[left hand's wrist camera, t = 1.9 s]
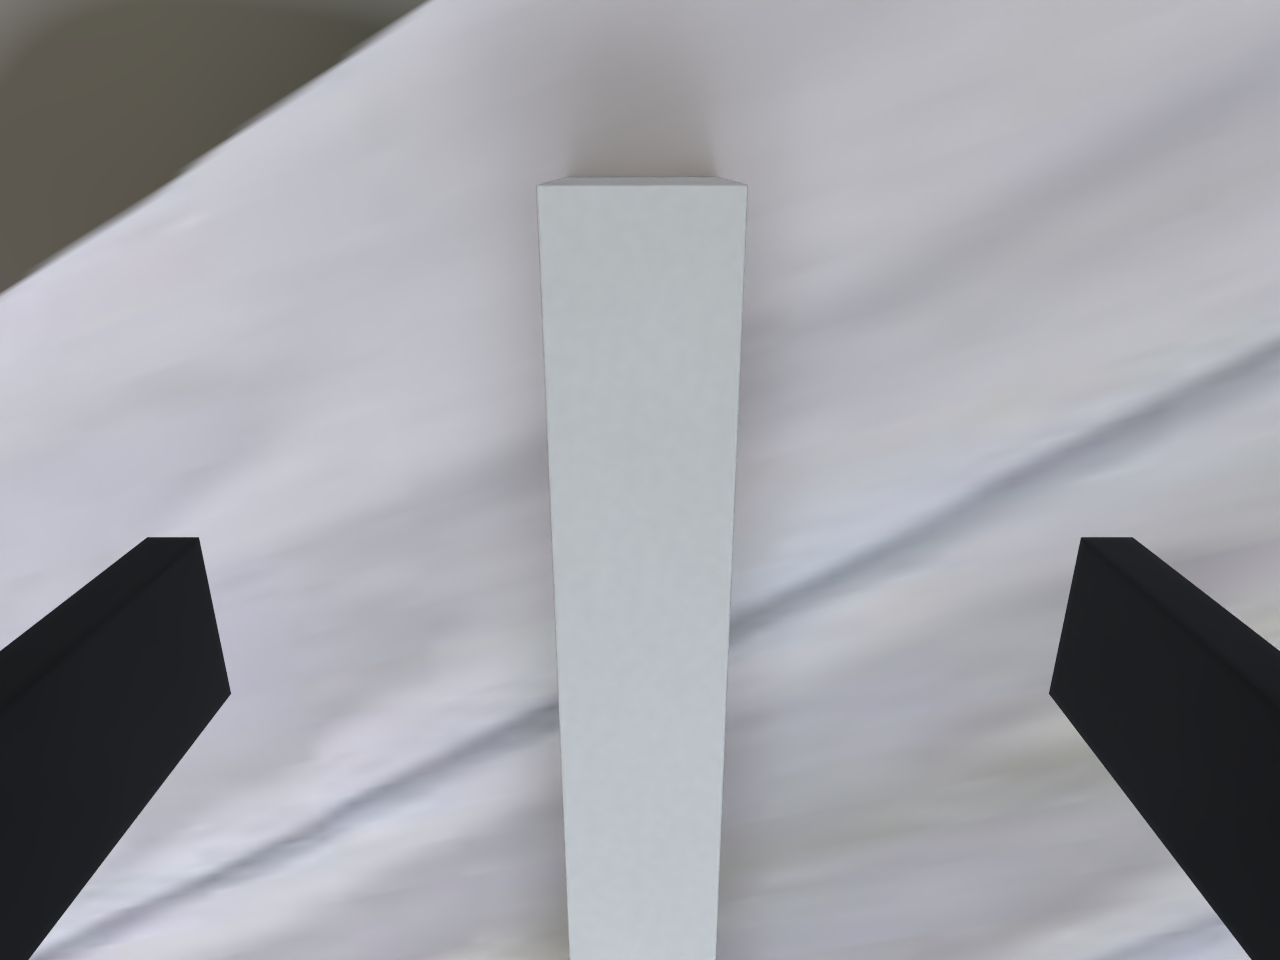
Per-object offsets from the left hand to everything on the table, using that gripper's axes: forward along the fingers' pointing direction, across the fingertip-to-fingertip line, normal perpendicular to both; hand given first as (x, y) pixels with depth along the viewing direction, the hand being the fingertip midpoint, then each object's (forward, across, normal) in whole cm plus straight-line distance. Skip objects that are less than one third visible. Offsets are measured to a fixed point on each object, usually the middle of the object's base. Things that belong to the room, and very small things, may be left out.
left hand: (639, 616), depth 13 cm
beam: (+18, 0, -21) cm, 28 cm away
